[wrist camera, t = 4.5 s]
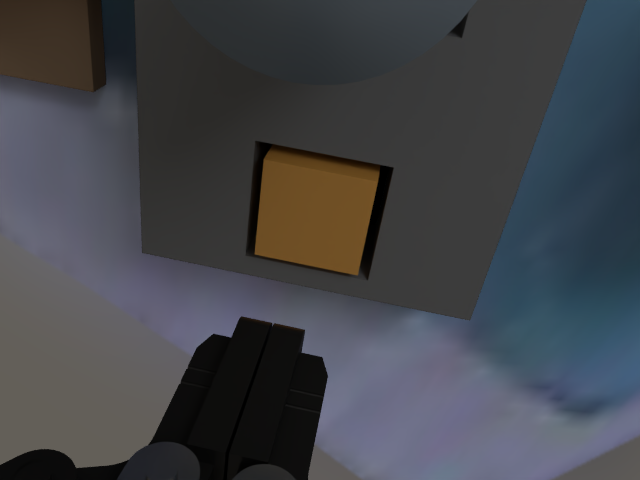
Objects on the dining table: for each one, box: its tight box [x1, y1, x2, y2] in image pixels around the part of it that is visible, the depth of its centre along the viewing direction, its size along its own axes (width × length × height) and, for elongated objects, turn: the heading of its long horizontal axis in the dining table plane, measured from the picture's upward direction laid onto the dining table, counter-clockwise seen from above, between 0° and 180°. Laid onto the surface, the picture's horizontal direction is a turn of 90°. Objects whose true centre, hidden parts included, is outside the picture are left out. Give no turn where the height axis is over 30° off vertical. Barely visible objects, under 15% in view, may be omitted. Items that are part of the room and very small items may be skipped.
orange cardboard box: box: [255, 144, 381, 275], centre depth 21 cm, size 4×4×4 cm
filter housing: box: [134, 0, 587, 320], centre depth 18 cm, size 17×12×4 cm
